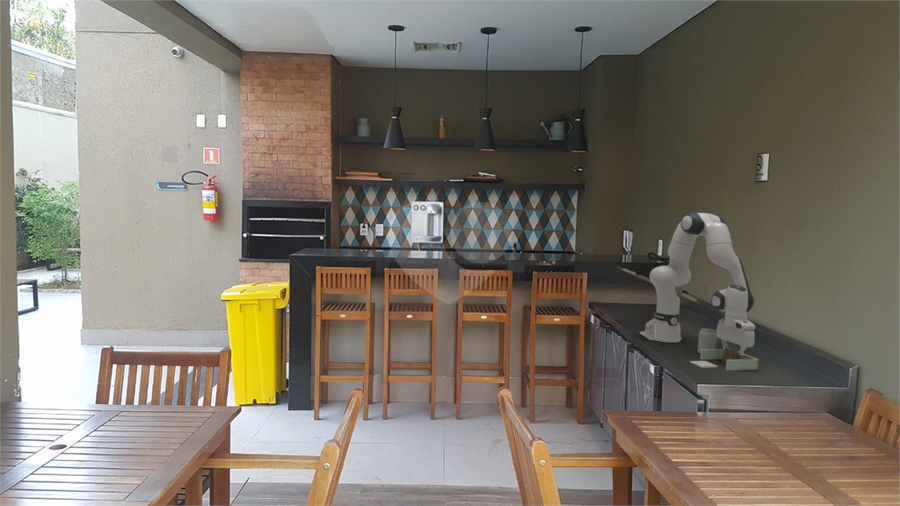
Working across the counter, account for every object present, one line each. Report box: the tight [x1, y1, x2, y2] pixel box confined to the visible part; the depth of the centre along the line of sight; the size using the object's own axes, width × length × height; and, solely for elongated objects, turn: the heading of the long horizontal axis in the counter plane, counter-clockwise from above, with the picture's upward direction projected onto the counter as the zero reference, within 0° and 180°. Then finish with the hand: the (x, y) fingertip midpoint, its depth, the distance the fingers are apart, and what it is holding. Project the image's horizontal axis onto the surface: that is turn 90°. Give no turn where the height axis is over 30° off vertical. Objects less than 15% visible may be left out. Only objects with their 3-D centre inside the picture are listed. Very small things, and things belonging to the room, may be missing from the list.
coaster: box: [689, 360, 718, 369], centre depth 260 cm, size 8×8×1 cm
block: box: [721, 349, 740, 365], centre depth 263 cm, size 5×5×6 cm
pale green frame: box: [699, 348, 760, 372], centre depth 263 cm, size 18×16×4 cm
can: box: [696, 327, 717, 355], centre depth 279 cm, size 8×8×12 cm
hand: (733, 352), depth 263 cm, fingers open, 8 cm apart
